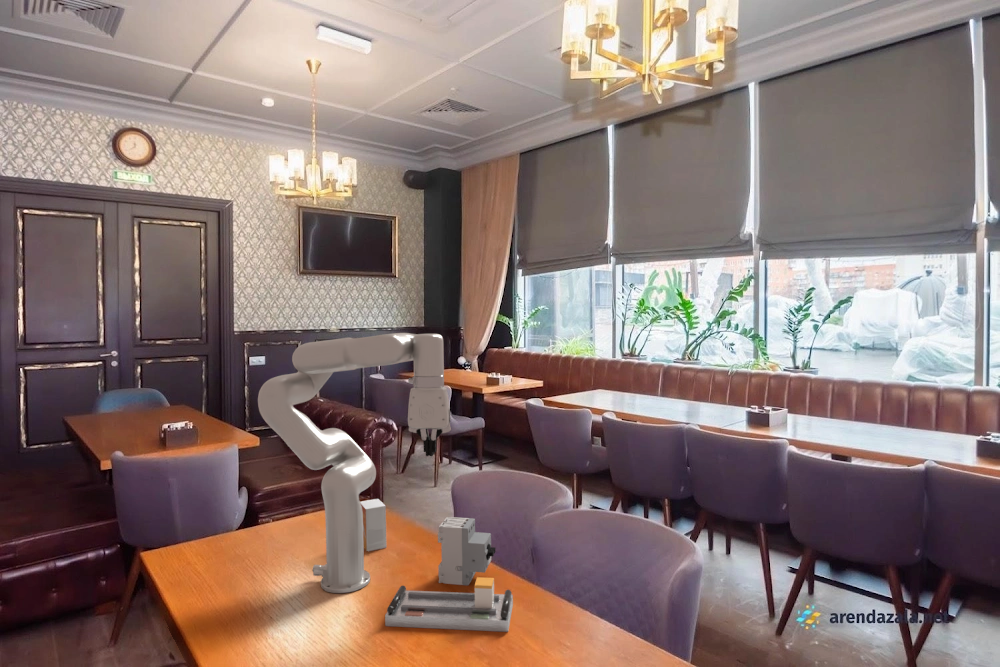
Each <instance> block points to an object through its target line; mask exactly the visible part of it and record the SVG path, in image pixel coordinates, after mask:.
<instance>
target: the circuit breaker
mask: <svg viewBox="0 0 1000 667" xmlns="http://www.w3.org/2000/svg"><path fill="white" fill-rule="evenodd" d="M437 543H438V544H439V543H441V545H440V546H441V549H440V550H441V561H440V562H439V564H438V567H437V568H438V584H441V583H443V584H445V585H447V584H448V585H458V586H469V585H470V583H471V582H472V580H473V578H474V576H475V574H476V573H484V574H485V573H486V571H487V569H488V568H489V566H490V564H491V561H492V557H494V555H495V553H496V547H493V546H492V534H491V533H490V532H481V531H480V532H479V531H478V532H477V531H476V518H471V517H456V516H455V517H454V516H451V517H449V516H446V518H444V520H443V521H442V522H441V523H440V524H439V526H438V532H437Z"/></svg>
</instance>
